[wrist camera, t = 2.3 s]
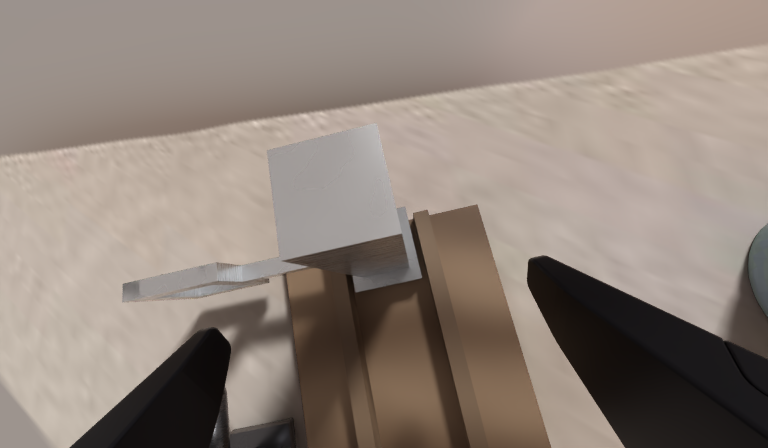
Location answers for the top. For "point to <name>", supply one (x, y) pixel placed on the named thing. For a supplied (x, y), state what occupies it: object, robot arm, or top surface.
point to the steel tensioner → (315, 223)
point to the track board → (415, 351)
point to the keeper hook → (252, 433)
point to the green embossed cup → (759, 268)
